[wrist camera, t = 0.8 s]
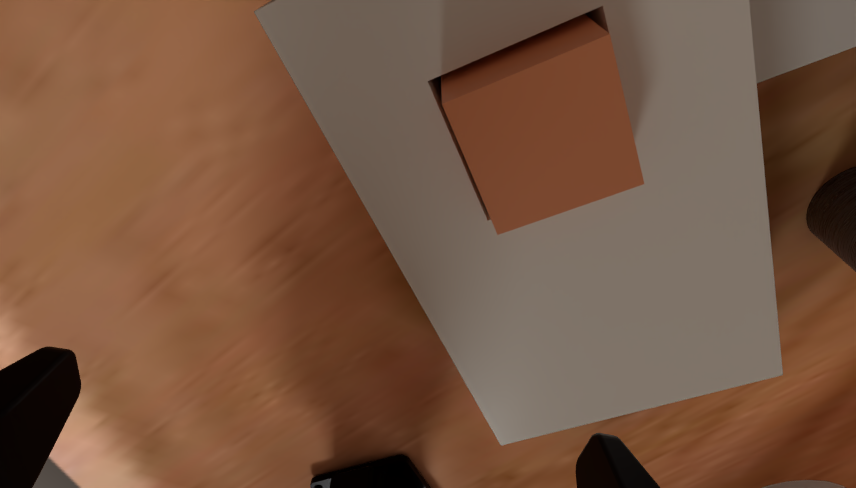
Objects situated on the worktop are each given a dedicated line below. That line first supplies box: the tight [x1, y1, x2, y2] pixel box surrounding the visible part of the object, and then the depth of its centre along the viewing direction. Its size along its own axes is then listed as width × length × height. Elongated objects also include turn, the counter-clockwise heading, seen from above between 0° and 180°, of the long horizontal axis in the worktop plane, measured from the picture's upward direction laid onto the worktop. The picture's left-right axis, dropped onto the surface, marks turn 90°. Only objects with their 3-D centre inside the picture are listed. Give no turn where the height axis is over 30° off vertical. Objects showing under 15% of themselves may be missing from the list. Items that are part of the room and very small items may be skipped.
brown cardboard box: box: [441, 14, 644, 235], centre depth 16 cm, size 4×4×4 cm
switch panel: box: [254, 0, 783, 445], centre depth 19 cm, size 20×12×4 cm, turn 23°
